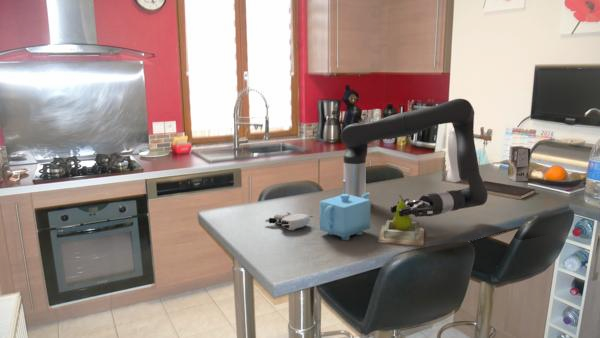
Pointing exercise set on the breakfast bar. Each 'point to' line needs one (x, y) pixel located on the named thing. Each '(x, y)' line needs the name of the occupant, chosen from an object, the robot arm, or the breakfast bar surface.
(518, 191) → the book
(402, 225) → the fruit
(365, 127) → the robot arm
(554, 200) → the breakfast bar surface
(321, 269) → the breakfast bar surface
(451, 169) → the skyscraper
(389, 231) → the tray
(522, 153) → the coffee box
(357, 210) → the teapot
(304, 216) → the robot toy
